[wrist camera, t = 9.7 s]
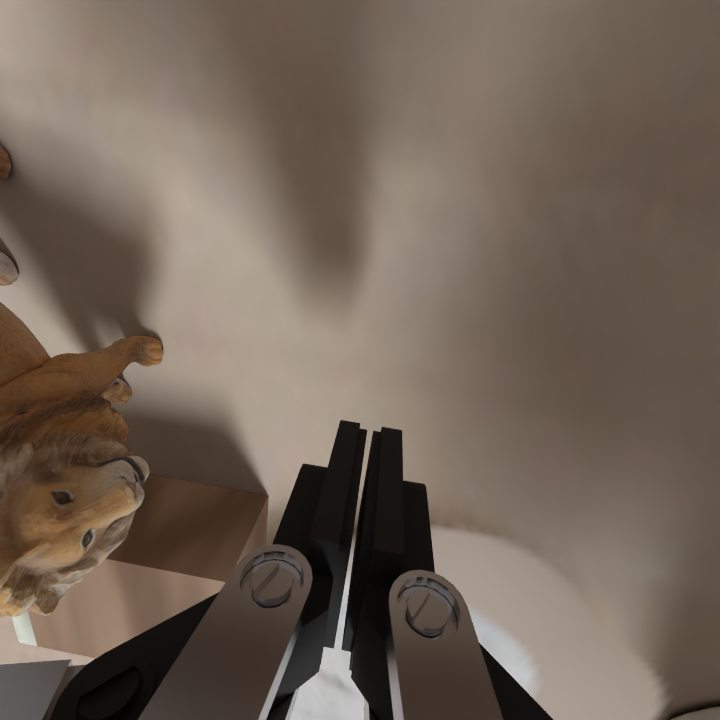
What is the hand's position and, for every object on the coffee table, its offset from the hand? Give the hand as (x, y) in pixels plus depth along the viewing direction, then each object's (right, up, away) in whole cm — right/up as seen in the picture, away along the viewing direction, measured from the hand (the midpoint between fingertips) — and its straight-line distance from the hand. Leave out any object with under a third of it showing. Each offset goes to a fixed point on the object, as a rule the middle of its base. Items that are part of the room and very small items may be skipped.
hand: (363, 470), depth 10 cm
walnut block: (-5, -7, +6) cm, 10 cm away
